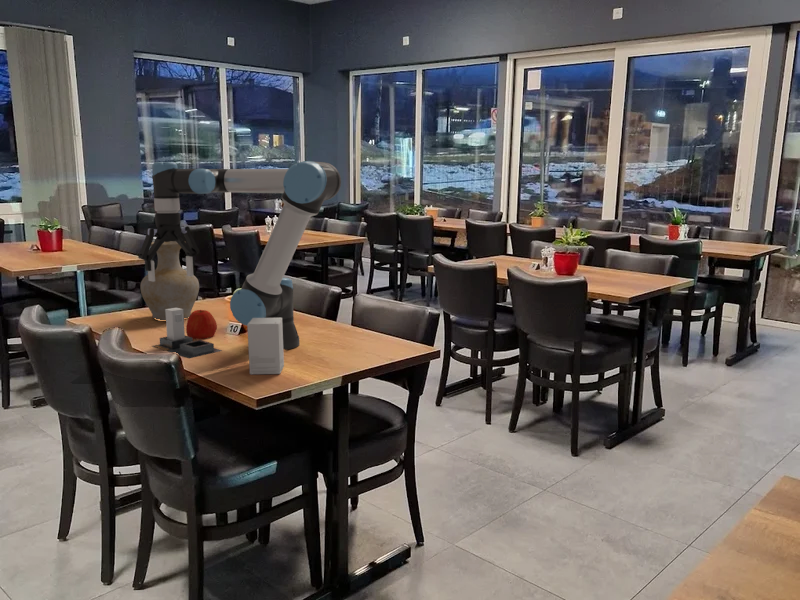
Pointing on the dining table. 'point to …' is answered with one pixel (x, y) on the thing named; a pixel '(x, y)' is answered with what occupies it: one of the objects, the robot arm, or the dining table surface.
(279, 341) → the supplement box
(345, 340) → the dining table surface
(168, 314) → the plug
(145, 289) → the vase
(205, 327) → the apple
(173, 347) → the grey double tray
